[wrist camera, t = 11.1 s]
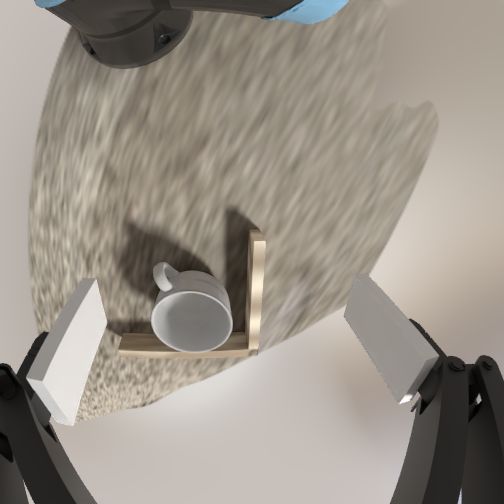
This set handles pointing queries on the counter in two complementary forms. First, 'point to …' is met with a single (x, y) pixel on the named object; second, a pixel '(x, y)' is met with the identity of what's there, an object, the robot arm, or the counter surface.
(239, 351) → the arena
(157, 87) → the counter surface
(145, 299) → the counter surface
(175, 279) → the teacup
